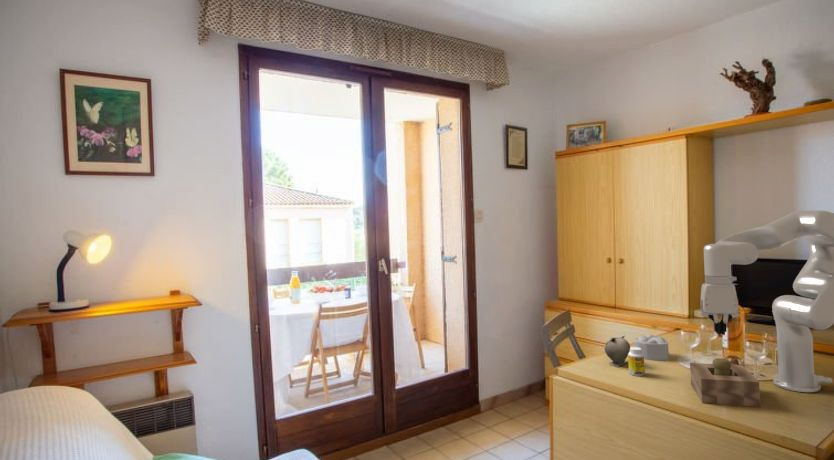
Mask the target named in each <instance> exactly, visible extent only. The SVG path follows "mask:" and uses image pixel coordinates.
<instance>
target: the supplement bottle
mask: <svg viewBox="0 0 834 460" xmlns="http://www.w3.org/2000/svg"><path fill="white" fill-rule="evenodd" d="M641 352H642V351H641V348H639V347H634V346H630V351H629V353H628V356H627V358H628V361H627V362H628V373H629V374H630V375H632V376H636V377H642V376H644V375H645V372H646V371H645V359H644V354H643V353H641Z"/></svg>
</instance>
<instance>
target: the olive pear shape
mask: <svg viewBox="0 0 834 460" xmlns="http://www.w3.org/2000/svg"><path fill="white" fill-rule="evenodd" d="M712 364H713V367H714V368H715V370H714V375H722V376H730V372H729V369H730V368H731V365H732V364H731V362H730V360H728V359H726V358H722V357H718V358H717V357H716V358H714V359H713V360H712Z"/></svg>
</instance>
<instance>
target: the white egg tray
mask: <svg viewBox="0 0 834 460" xmlns="http://www.w3.org/2000/svg"><path fill="white" fill-rule="evenodd" d="M633 345H634V346H633V347H639V348H641V351H642V352H641V353H643V354H644V361H645V360H646V361H655V362H656V361H657V362H660V361H661V362H663V361H669V360H670V354H669V353H670V351H669V342H668V341H667V339H666V338H664V337H662V336H654V334H647V335H640V336H638V337H637V338H634V340H633Z"/></svg>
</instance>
